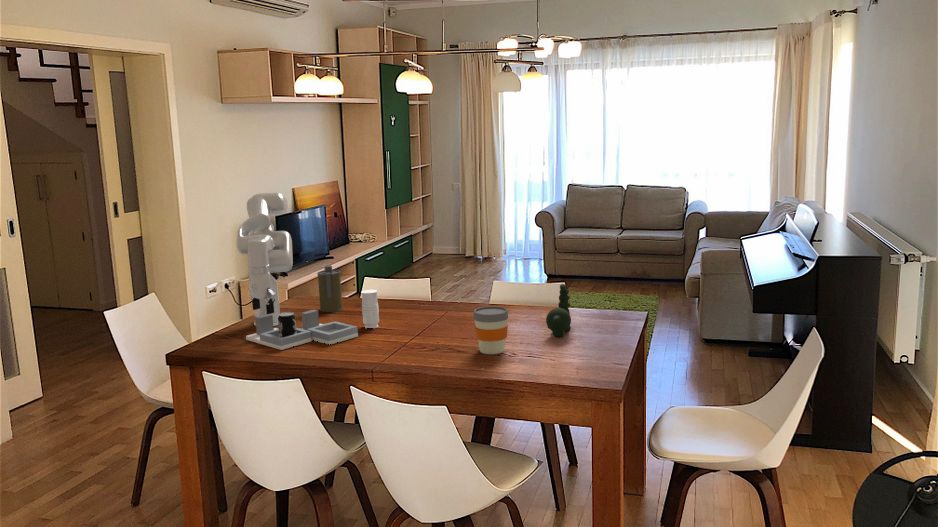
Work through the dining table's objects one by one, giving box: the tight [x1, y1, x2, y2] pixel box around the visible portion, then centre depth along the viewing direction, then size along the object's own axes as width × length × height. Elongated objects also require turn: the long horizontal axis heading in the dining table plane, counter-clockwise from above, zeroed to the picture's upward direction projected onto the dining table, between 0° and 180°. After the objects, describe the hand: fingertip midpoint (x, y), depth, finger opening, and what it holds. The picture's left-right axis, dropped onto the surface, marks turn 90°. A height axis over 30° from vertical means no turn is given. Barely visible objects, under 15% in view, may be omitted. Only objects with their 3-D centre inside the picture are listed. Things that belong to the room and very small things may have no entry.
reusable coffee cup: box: [473, 305, 509, 355], centre depth 278 cm, size 13×12×15 cm
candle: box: [360, 289, 380, 329], centre depth 316 cm, size 7×7×15 cm
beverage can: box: [277, 311, 297, 338], centre depth 296 cm, size 7×7×12 cm
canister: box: [316, 264, 344, 313], centre depth 347 cm, size 11×10×20 cm
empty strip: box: [301, 309, 359, 346], centre depth 305 cm, size 24×14×8 cm, turn 48°
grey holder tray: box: [245, 314, 313, 351], centre depth 301 cm, size 24×14×8 cm, turn 48°
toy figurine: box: [545, 283, 572, 339], centre depth 296 cm, size 9×19×25 cm
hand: (263, 311), depth 307 cm, fingers open, 9 cm apart
